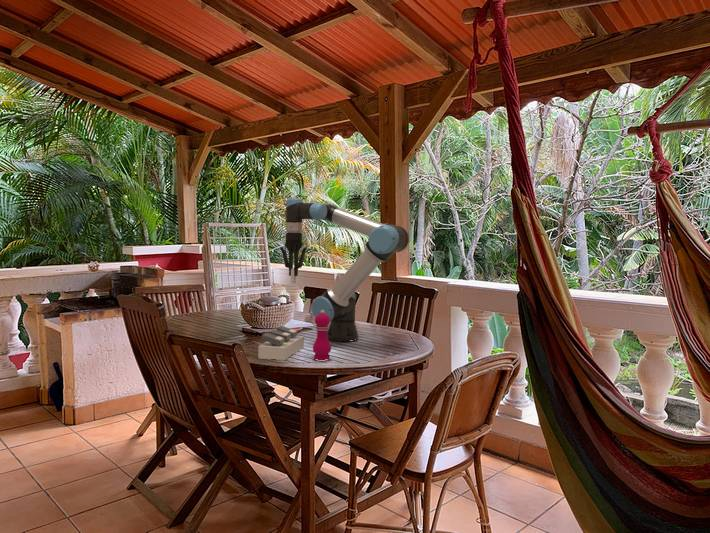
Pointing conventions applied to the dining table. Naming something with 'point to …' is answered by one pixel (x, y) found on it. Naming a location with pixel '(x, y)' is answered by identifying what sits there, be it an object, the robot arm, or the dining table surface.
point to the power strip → (280, 349)
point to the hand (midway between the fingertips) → (293, 283)
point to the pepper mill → (322, 337)
